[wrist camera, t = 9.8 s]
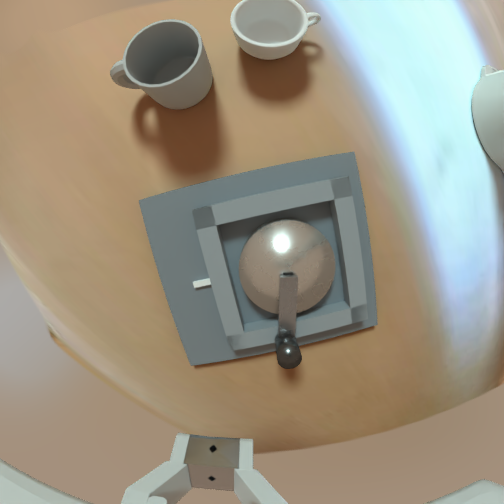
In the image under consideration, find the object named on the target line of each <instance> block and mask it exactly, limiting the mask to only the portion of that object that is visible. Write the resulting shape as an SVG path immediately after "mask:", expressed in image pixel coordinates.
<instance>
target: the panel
mask: <svg viewBox="0 0 504 504" xmlns="http://www.w3.org/2000/svg"><path fill="white" fill-rule="evenodd" d="M139 203H140V207H141V211H142V215H143V219H144V223H145V227H146V231H147V234H148V238H149V242H150V245H151V249H152V252H153V256H154V259H155V262H156V266H157V269H158V272H159V276H160V279H161V282H162V285H163V288H164V292H165V295H166V298H167V301H168V304H169V307H170V310H171V313H172V316H173V318H174V321H175V324H176V327H177V330H178V333H179V335H180V338H181V341H182V343H183V346H184V349H185V351H186V354H187V357H188V359H189V362H190V364H191V366H193V365H200V364H206V363H213V362H219V361H225V360H231V359H237V358H242V357H248V356H253V355H258V354H263V353H268V352H273V351H276V347H275V336H276V335H277V333H278V314H275V313H271V312H268V311H266V310H264V309H262V308H260V307H259V306H257V305H256V304H255V303H253V302H252V301H251V300H250V298H249V297H248V296H247V295H246V293H245V291H244V289H243V287H242V285H241V282H240V278H239V260H240V254H241V251H242V248H243V246H244V244H245V242H246V240H247V239H248V237H249V236H250V235H251V234H252V233H253V232H254V231H255V230H256V229H257V228H258V227H260V226H261V225H263V224H265V223H267V222H269V221H272V220H276V219H282V218H291V219H297V220H301V221H303V222H306V223H308V224H310V225H311V226H313V227H314V228H315V229H317V230H318V231H320V232H321V233H322V234H323V235H324V236H325V238H326V239H327V240H328V242H329V244H330V245H331V247H332V250H333V253H334V257H335V275H334V279H333V282H332V284H331V287H330V288H329V290H328V292H327V293H326V295H325V296H324V297H323V298H322V299H321V300H320V301H319V302H318V303H317V304H315V305H314V306H312V307H311V308H309V309H307V310H305V311H302V312H299V313H296V327H295V336H296V339H297V342H298V346H300V345H304V344H308V343H313V342H317V341H321V340H324V339H328V338H332V337H336V336H340V335H343V334H347V333H351V332H354V331H358V330H361V329H364V328H368V327H371V326H374V325H377V309H376V295H375V283H374V272H373V263H372V254H371V246H370V238H369V231H368V224H367V217H366V211H365V205H364V199H363V193H362V188H361V182H360V177H359V172H358V167H357V162H356V158H355V153H354V152H349V153H342V154H336V155H330V156H324V157H318V158H313V159H307V160H302V161H297V162H291V163H286V164H281V165H276V166H271V167H267V168H262V169H257V170H253V171H248V172H244V173H240V174H235V175H231V176H227V177H223V178H219V179H215V180H211V181H207V182H203V183H199V184H195V185H191V186H188V187H184V188H180V189H177V190H173V191H169V192H166V193H162V194H159V195H155V196H152V197H149V198H145V199H142V200H139Z"/></svg>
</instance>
